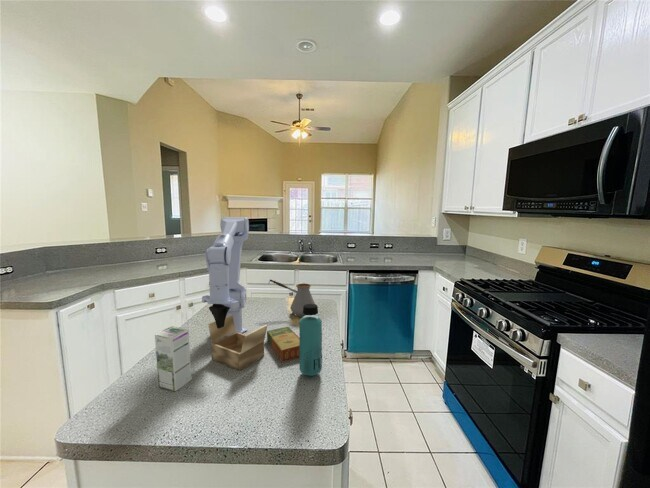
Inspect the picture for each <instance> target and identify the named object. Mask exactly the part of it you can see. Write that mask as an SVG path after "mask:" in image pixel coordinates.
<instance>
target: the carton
mask: <svg viewBox="0 0 650 488" xmlns="http://www.w3.org/2000/svg"><path fill="white" fill-rule="evenodd" d="M266 341H267V343H268V345H269V346H270V347H271V348H272V350H273V351H274V353H275V355H277V357H278V358H279V360H280V361H281V362H282V363H283V362H286V361H291V360H295V359H299V344H300V336H298V334H296V333H295V332H294V331H293V329H291V328H290V327H289V326H285V327H280V328H275V329H270V330H266Z"/></svg>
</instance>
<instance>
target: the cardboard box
mask: <svg viewBox="0 0 650 488" xmlns="http://www.w3.org/2000/svg"><path fill="white" fill-rule="evenodd" d="M244 335H246V334H244V333H238V332H236V333H233V334H231V335H229V336H225V337H222V338H220V339H218V340H216V341H214V342H211V345H210V346H211V347H210V348H211V360H212V361H214V362H218V363H220V364H223V365H225V366H227V367H229V368H231V369H234V370H237V371H239V372H241V371H242V370H244V369H245V368H248V367H249V366H250V365H252V364H254V363H255V362H256V361H258V360H260V359H262V358H263V357H264V356H265V340H264V341H263V342H261V343H259V344H258V345H256V346H254V347H252V348H251V349H249V350H247V351H245V352H244V353H241V350H242V345H243V340H244Z"/></svg>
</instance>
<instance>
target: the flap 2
mask: <svg viewBox="0 0 650 488" xmlns="http://www.w3.org/2000/svg"><path fill="white" fill-rule="evenodd" d="M267 329H268V324H264V325H262V326H260V327H258V328H256V329H254V330H252V331H250V332H248V333H246V334H245V335H244V340H243V345H242V350H241V353H244V352H245V351H247V350H249V349H251V348H252V347H254V346H256V345H258V344H259V343H261V342H263V341H264V342H265V340H266V339H265V338H266V336H267V331H268V330H267Z"/></svg>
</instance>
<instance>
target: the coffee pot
mask: <svg viewBox="0 0 650 488" xmlns="http://www.w3.org/2000/svg"><path fill="white" fill-rule="evenodd" d="M270 283H273V284H275V285H277V286H279V287H280V288H281V287H282V288H283V289H287V290H290V291H291V292H294V293H296V294H295V295H294V298H293V301H292V302H291V305H290V310H291V312H292V313H293V314H294V315H295V316H297V317H301V318H302V317H304V316H305V314H303V306H304V305H306V304H316V303H315V300H314V297H313V296H312V293H311V291H310V288H311V286H312V285H311V284H309V283H304V282H303V283H299V284H296V286H295V287H296V289H294V288H291V287H289V286H287V285H285V284H284V283H281V282H278V281H276V280H273V279H269V281H268V283H267V284H270Z"/></svg>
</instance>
